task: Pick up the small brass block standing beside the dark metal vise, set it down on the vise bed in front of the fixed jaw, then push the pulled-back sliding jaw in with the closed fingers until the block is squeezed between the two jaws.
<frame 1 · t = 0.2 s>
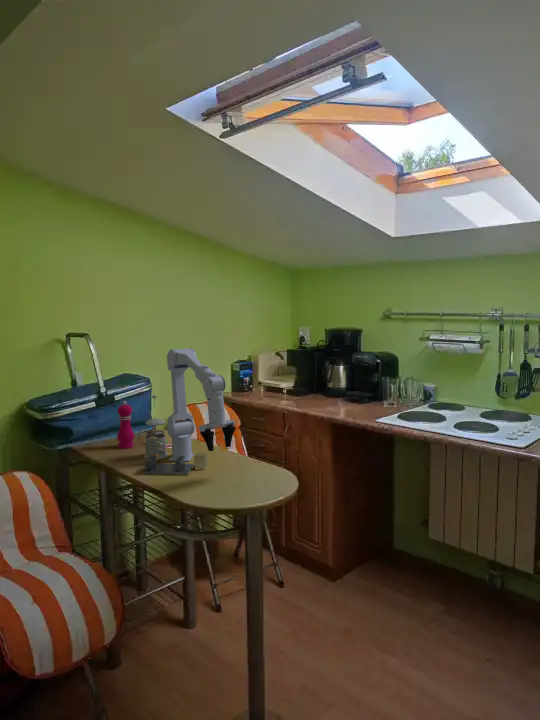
hand: (219, 448, 187), 11 cm above the table, tool pointing down, fingers open, 7 cm apart
sliding jaw: (152, 460, 200), point 3 cm above the table, slide at 0.0 cm
brass block: (201, 467, 200), on the table
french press: (154, 456, 216), on the table
vise: (169, 470, 197), on the table
pepper mill: (126, 447, 230), on the table
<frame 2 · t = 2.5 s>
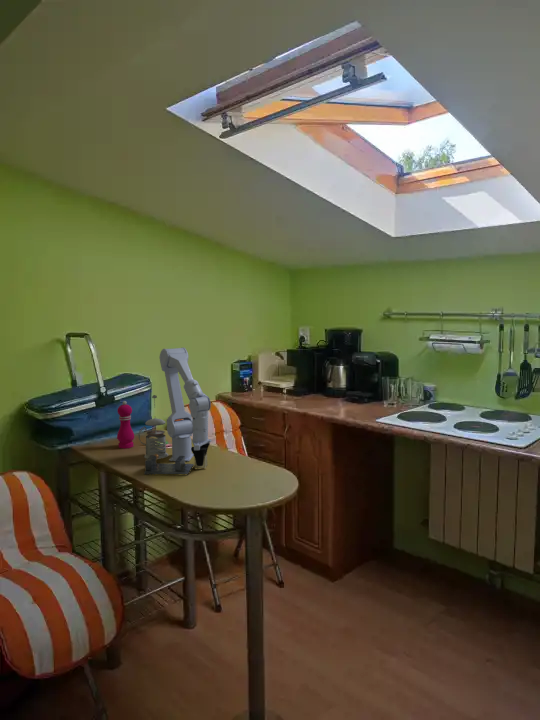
hand: (201, 463, 200), 1 cm above the table, tool pointing down, fingers closed on brass block, 4 cm apart
brass block: (201, 467, 200), on the table, touching gripper
everything else where it was.
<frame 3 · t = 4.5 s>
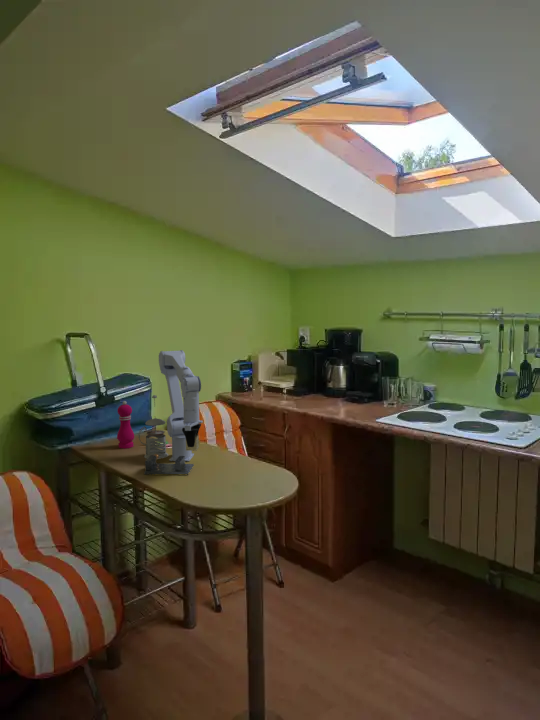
hand: (192, 445, 198), 9 cm above the table, tool pointing down, fingers closed on brass block, 4 cm apart
brass block: (192, 449, 199), point 7 cm above the table, touching gripper
everything else where it was.
when the fingers open (3 cm above the table, at t = 6.7 s): brass block stays where it is, resting on vise.
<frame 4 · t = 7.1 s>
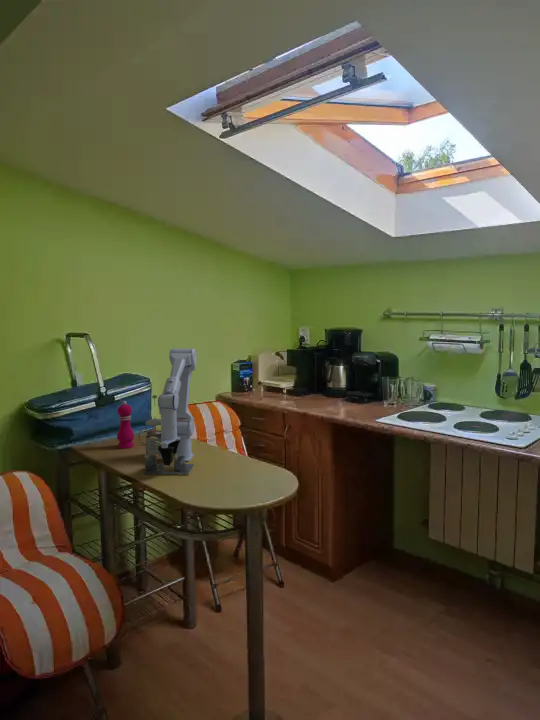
hand: (169, 462, 197), 3 cm above the table, tool pointing down, fingers open, 7 cm apart
brass block: (170, 467, 197), point 1 cm above the table, touching vise
everything else where it was.
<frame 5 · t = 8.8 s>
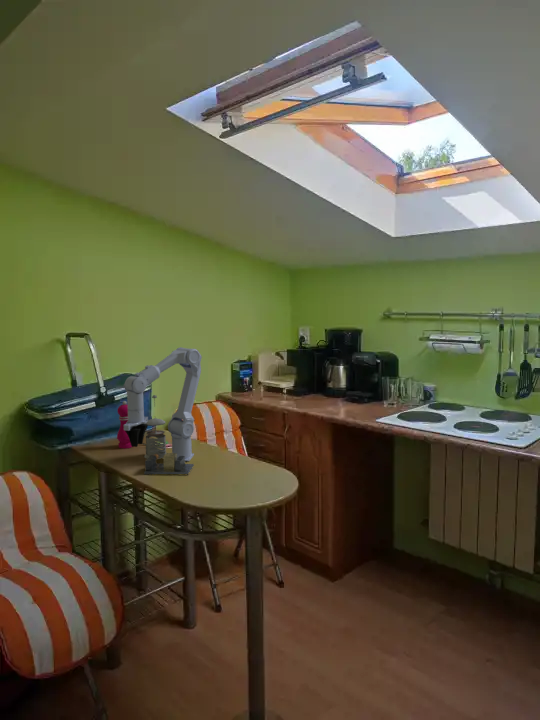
hand: (136, 445, 197), 9 cm above the table, tool pointing down, fingers open, 3 cm apart
nothing on the table moved.
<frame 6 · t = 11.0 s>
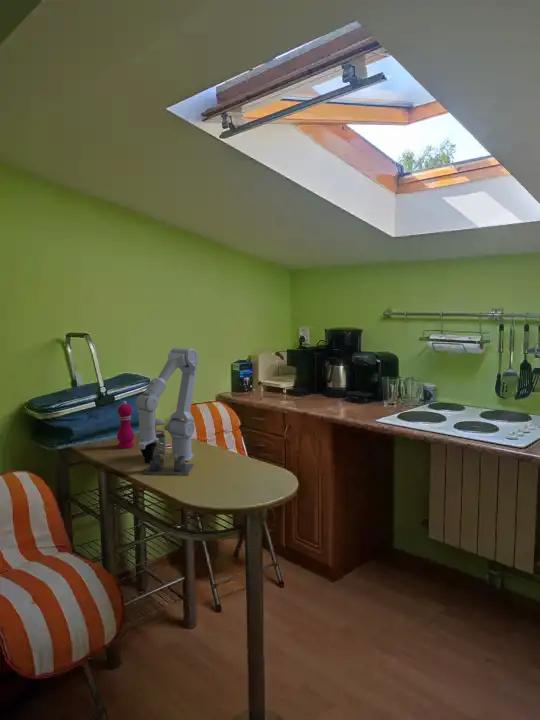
hand: (148, 463, 197), 3 cm above the table, tool pointing down, fingers closed
sliding jaw: (156, 460, 199), point 3 cm above the table, slide at 1.6 cm, touching gripper
everything else where it was.
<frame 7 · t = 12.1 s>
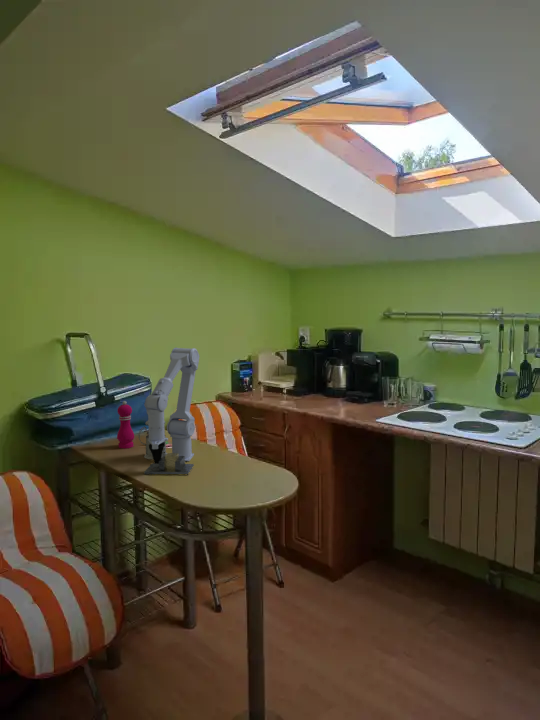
hand: (157, 463, 197), 3 cm above the table, tool pointing down, fingers closed
sliding jaw: (165, 460, 199), point 3 cm above the table, slide at 5.0 cm, touching brass block, gripper
brass block: (172, 467, 197), point 1 cm above the table, touching sliding jaw, vise
everything else where it was.
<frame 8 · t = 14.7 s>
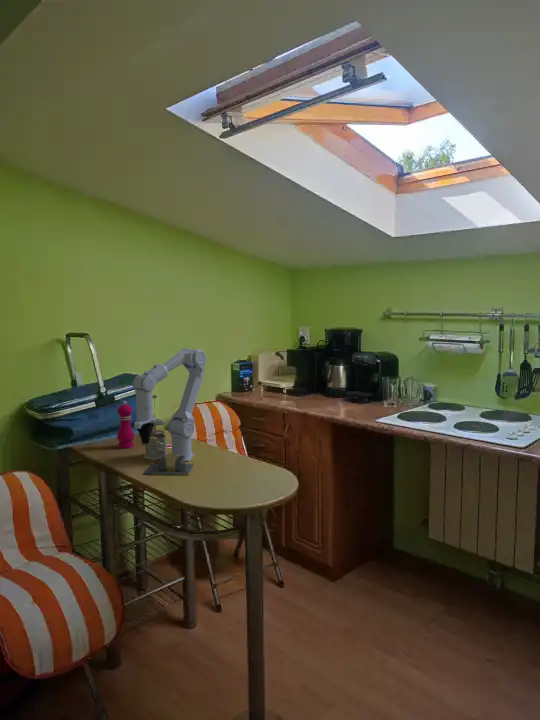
hand: (145, 443, 198), 10 cm above the table, tool pointing down, fingers closed
sliding jaw: (165, 460, 199), point 3 cm above the table, slide at 5.0 cm
brass block: (172, 467, 197), point 1 cm above the table, touching vise
everything else where it was.
at the end: brass block 1.0 cm from the target spot, point 1.0 cm above the table; brass block tilted 0°; sliding jaw slide at 5.0 cm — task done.
